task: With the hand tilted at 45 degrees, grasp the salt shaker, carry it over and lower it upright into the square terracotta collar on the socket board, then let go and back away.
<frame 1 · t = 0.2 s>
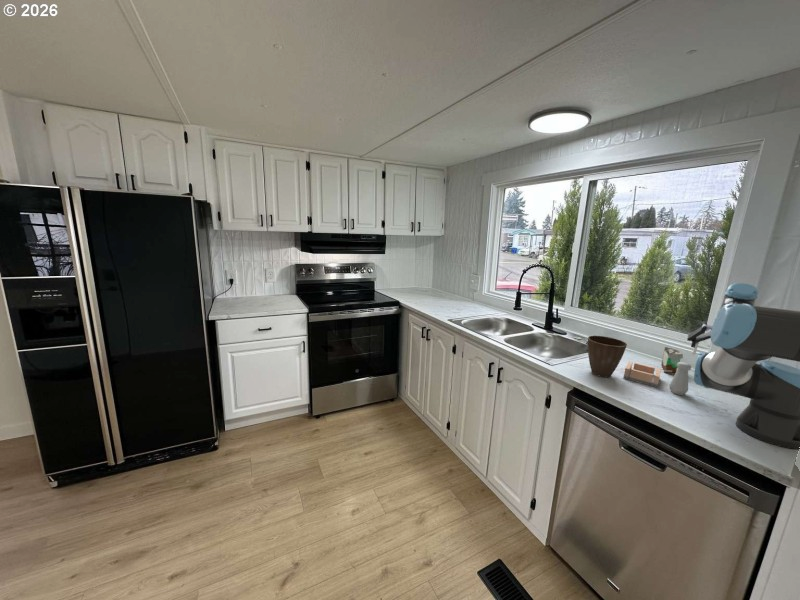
hand: (716, 357, 131), 15 cm above the counter, tool tilted 35°, fingers open, 13 cm apart
socket board: (641, 378, 143), on the counter
plant pot: (600, 374, 146), on the counter
food container: (670, 371, 153), on the counter
salt shaker: (677, 393, 131), on the counter
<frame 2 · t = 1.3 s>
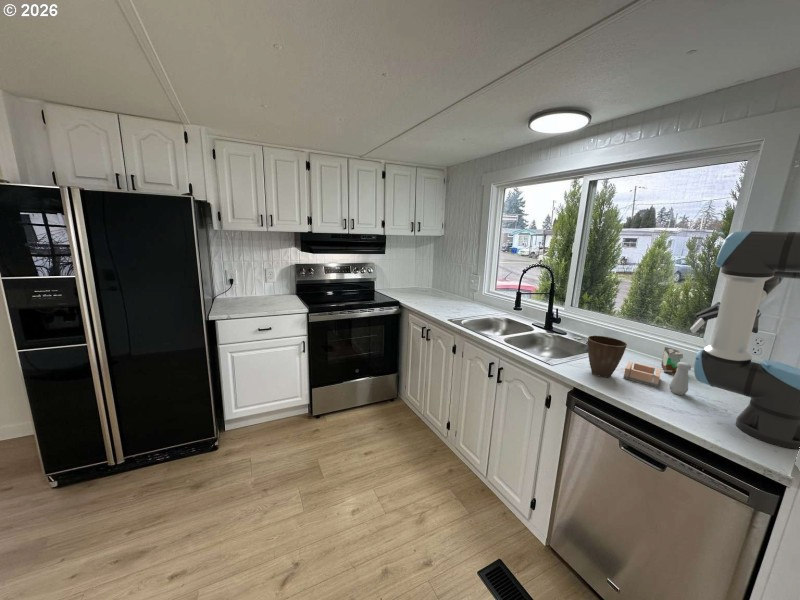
hand: (710, 336, 128), 24 cm above the counter, tool tilted 45°, fingers open, 13 cm apart
nothing on the counter moved.
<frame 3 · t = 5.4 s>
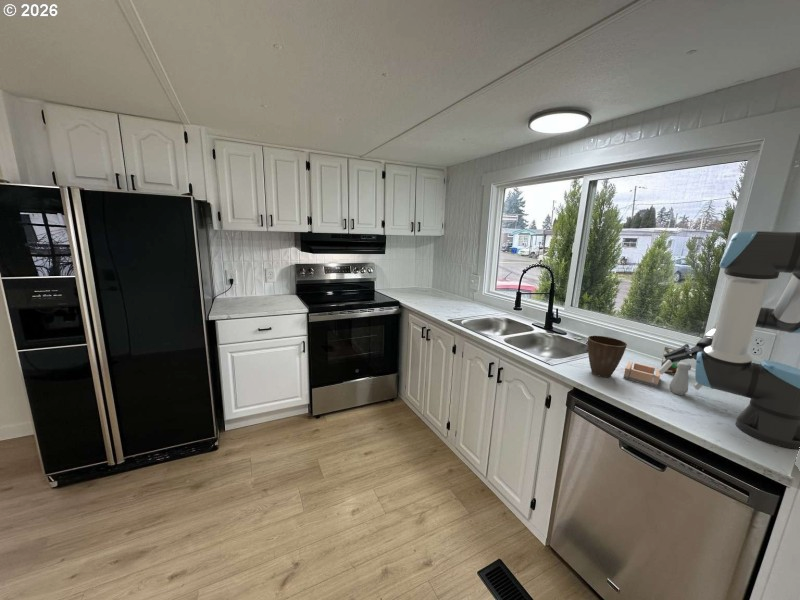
hand: (676, 379, 129), 6 cm above the counter, tool tilted 45°, fingers open, 13 cm apart
nothing on the counter moved.
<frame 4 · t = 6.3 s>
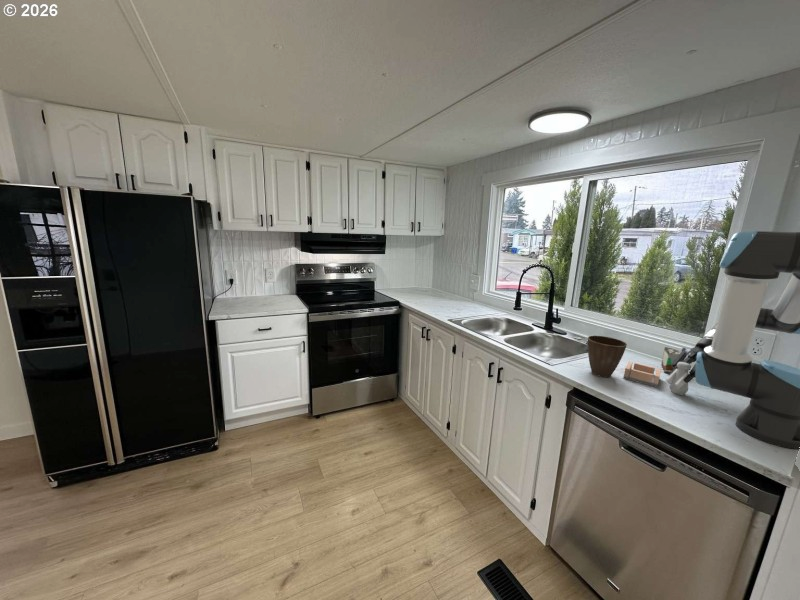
hand: (672, 384, 129), 4 cm above the counter, tool tilted 45°, fingers closed on salt shaker, 3 cm apart
salt shaker: (677, 393, 131), on the counter, touching gripper
everything else where it was.
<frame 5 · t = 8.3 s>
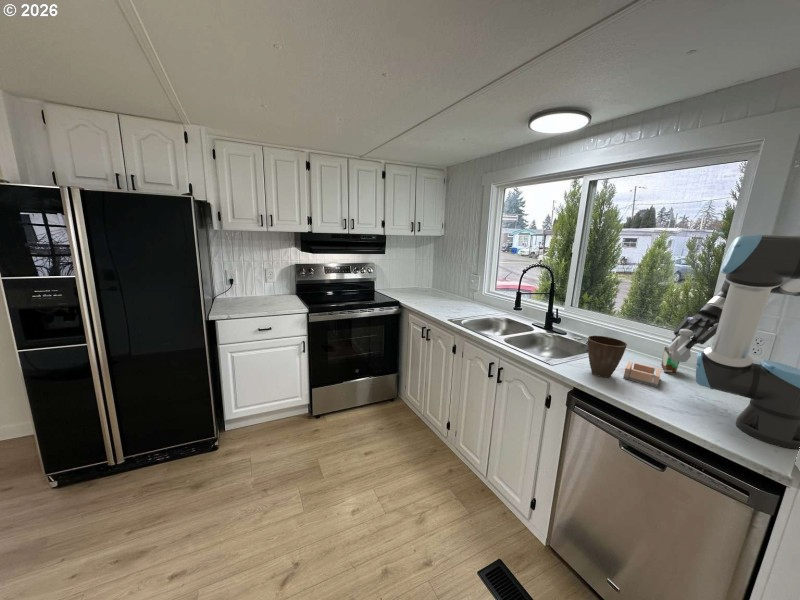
hand: (674, 350, 129), 17 cm above the counter, tool tilted 45°, fingers closed on salt shaker, 3 cm apart
salt shaker: (679, 360, 130), point 13 cm above the counter, touching gripper
everything else where it was.
when the fingers open (7 cm above the counter, at t = 10.7 s): salt shaker drops 1 cm, resting on socket board.
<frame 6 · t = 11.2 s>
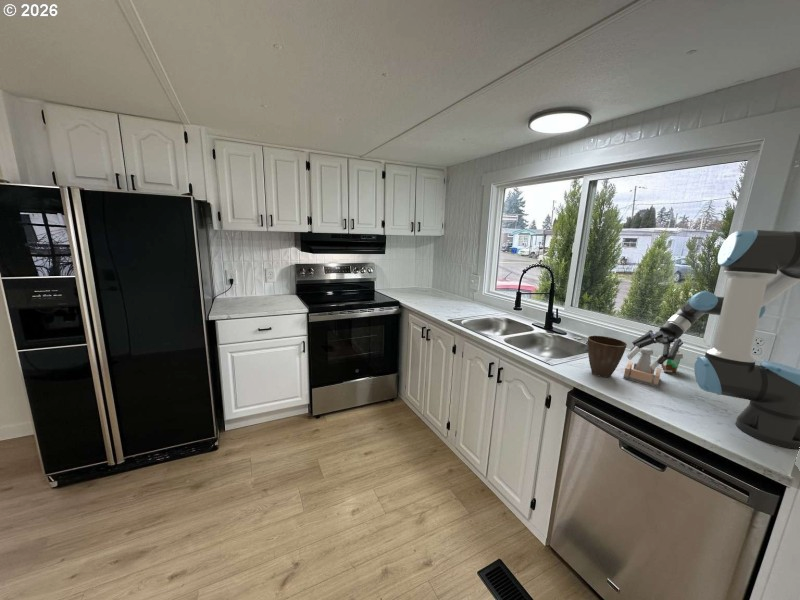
hand: (639, 362, 141), 8 cm above the counter, tool tilted 45°, fingers open, 10 cm apart
salt shaker: (641, 376, 143), point 1 cm above the counter, touching socket board
everything else where it was.
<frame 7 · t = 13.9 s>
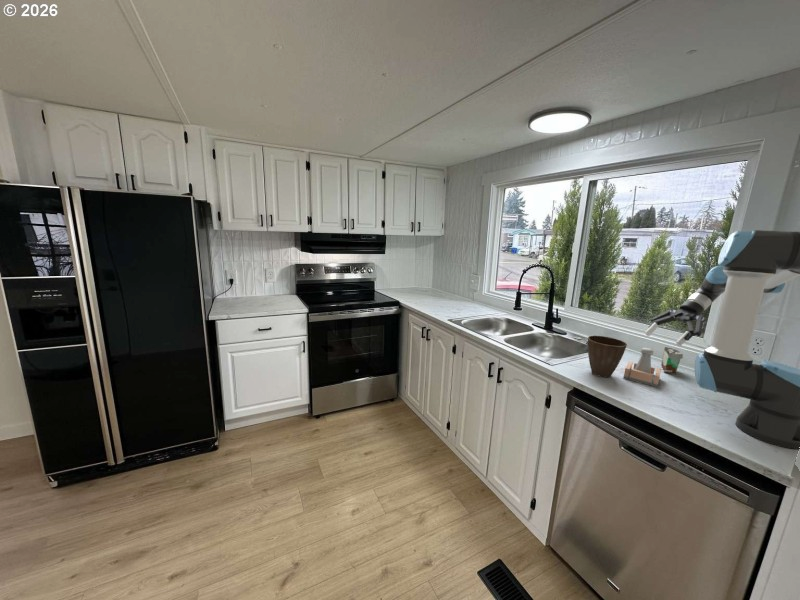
hand: (661, 339, 141), 18 cm above the counter, tool tilted 45°, fingers open, 13 cm apart
nothing on the counter moved.
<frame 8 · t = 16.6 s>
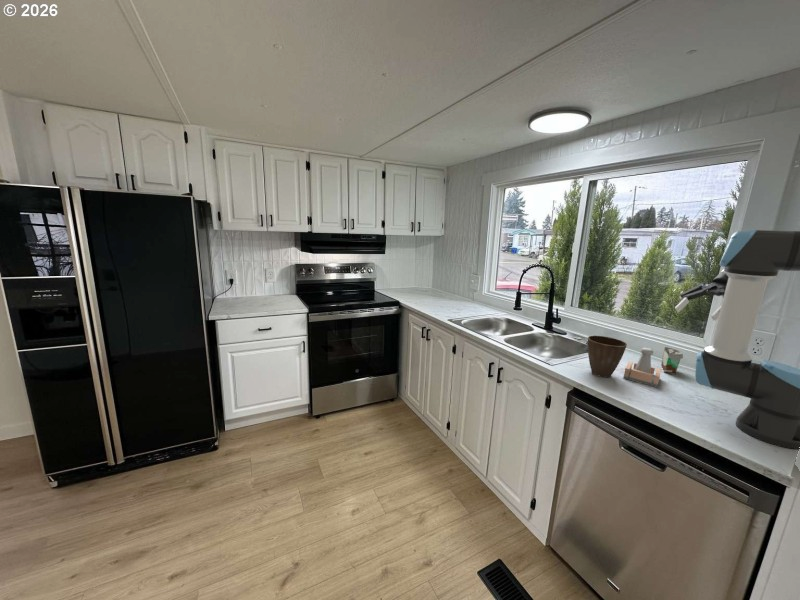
hand: (693, 313, 132), 32 cm above the counter, tool tilted 45°, fingers open, 13 cm apart
nothing on the counter moved.
at the end: salt shaker 0.4 cm off-centre on the socket board, point 1.0 cm above the socket board's base; salt shaker tilted 0°; the gripper is holding nothing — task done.
